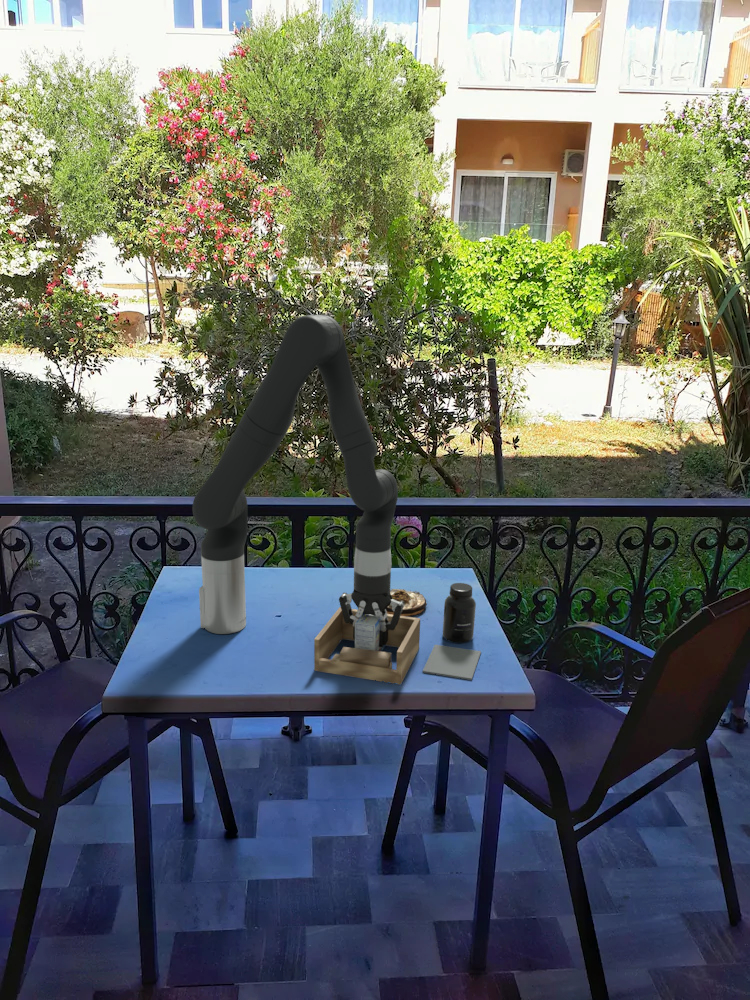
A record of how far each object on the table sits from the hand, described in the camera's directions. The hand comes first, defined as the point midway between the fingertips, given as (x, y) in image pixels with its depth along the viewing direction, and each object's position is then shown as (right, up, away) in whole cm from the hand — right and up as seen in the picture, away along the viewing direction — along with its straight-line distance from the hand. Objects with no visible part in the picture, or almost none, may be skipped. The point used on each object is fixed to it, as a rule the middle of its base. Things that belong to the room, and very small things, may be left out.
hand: (370, 643), depth 168 cm
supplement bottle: (+19, -1, +10) cm, 22 cm away
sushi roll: (+7, +4, +25) cm, 26 cm away
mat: (+17, -4, -2) cm, 18 cm away
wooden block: (-2, -4, -6) cm, 7 cm away
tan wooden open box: (0, -3, -1) cm, 3 cm away
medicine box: (0, -3, +1) cm, 3 cm away
